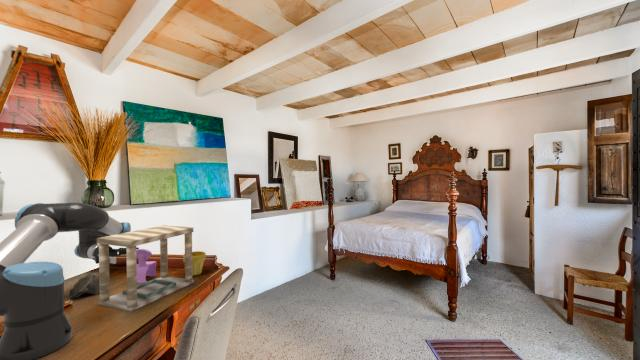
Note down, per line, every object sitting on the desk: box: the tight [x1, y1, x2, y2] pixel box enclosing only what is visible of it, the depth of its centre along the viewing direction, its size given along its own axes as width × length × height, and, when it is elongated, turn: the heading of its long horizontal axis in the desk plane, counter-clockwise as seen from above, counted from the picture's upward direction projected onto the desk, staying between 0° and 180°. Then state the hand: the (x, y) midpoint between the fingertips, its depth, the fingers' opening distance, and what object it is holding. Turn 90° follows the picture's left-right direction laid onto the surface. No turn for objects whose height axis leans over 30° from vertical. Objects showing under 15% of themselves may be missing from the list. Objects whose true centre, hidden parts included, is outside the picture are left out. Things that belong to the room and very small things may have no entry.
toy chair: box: [136, 248, 157, 284], centre depth 130 cm, size 8×9×15 cm
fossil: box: [67, 273, 100, 299], centre depth 114 cm, size 11×9×10 cm
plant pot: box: [182, 250, 207, 276], centre depth 137 cm, size 10×10×10 cm
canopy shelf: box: [97, 225, 195, 312], centre depth 115 cm, size 29×18×25 cm, turn 160°
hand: (130, 256), depth 133 cm, fingers open, 13 cm apart
